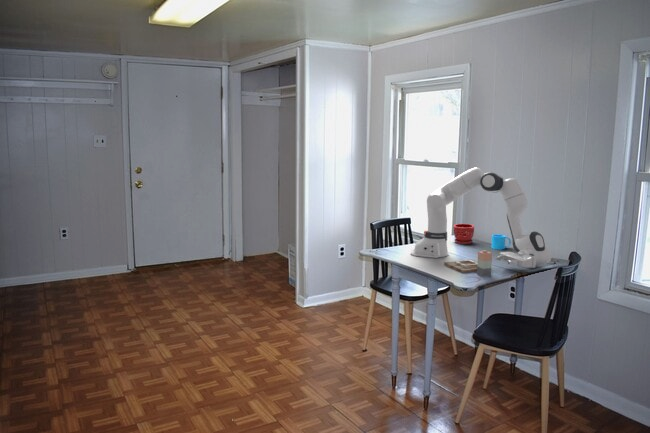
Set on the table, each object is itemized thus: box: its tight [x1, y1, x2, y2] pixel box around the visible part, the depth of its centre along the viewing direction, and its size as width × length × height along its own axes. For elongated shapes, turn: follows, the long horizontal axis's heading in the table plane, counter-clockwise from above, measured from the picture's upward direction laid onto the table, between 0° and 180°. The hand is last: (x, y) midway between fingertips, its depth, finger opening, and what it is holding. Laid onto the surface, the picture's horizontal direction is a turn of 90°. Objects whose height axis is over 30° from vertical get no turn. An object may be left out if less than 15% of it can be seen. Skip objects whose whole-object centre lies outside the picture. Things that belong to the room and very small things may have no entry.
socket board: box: [443, 259, 478, 274], centre depth 285 cm, size 18×18×3 cm
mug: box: [491, 234, 512, 251], centre depth 329 cm, size 12×8×8 cm
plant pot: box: [453, 223, 475, 245], centre depth 345 cm, size 13×13×12 cm
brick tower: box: [476, 249, 493, 277], centre depth 270 cm, size 5×5×13 cm
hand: (503, 260), depth 274 cm, fingers open, 8 cm apart
